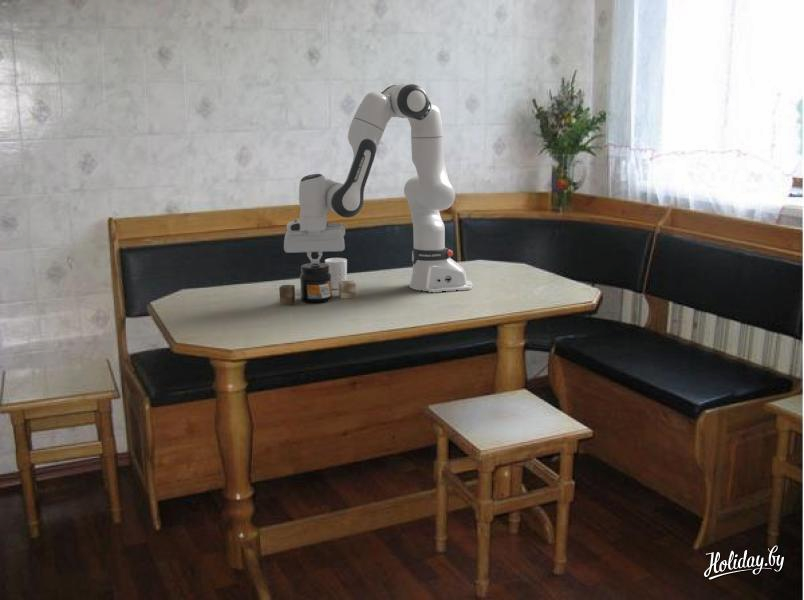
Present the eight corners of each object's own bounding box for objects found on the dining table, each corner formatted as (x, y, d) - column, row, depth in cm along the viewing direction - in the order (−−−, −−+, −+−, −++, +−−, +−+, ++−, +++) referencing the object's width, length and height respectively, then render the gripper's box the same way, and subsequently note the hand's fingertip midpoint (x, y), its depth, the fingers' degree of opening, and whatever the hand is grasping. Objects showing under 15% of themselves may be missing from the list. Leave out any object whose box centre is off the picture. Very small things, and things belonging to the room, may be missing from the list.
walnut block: (295, 302, 286) (294, 285, 284) (291, 305, 282) (290, 287, 280) (283, 302, 286) (283, 284, 285) (280, 305, 283) (279, 287, 281)
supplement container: (330, 304, 283) (329, 268, 280) (298, 304, 283) (297, 268, 280) (333, 296, 293) (332, 262, 290) (303, 296, 294) (301, 262, 291)
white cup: (349, 284, 310) (348, 257, 307) (345, 290, 302) (345, 262, 300) (327, 284, 310) (327, 257, 308) (323, 289, 303) (322, 262, 300)
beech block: (353, 294, 296) (352, 280, 295) (356, 297, 291) (355, 283, 290) (338, 295, 295) (338, 281, 294) (341, 298, 290) (341, 284, 289)
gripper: (344, 221, 286) (346, 262, 289) (283, 223, 284) (285, 263, 288) (345, 224, 280) (346, 265, 283) (282, 226, 278) (284, 267, 282)
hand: (315, 264), depth 285 cm, fingers closed
